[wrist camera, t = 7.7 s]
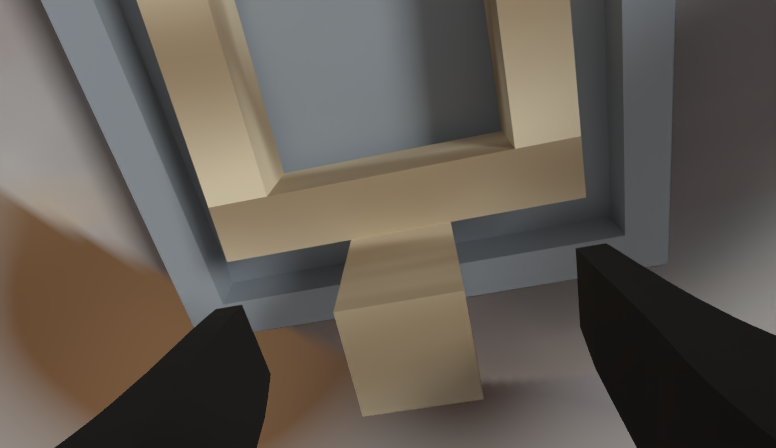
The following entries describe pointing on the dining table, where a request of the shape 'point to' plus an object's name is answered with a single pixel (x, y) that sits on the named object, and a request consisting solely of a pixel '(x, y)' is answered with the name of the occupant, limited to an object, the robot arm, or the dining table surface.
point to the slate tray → (385, 135)
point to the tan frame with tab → (379, 188)
